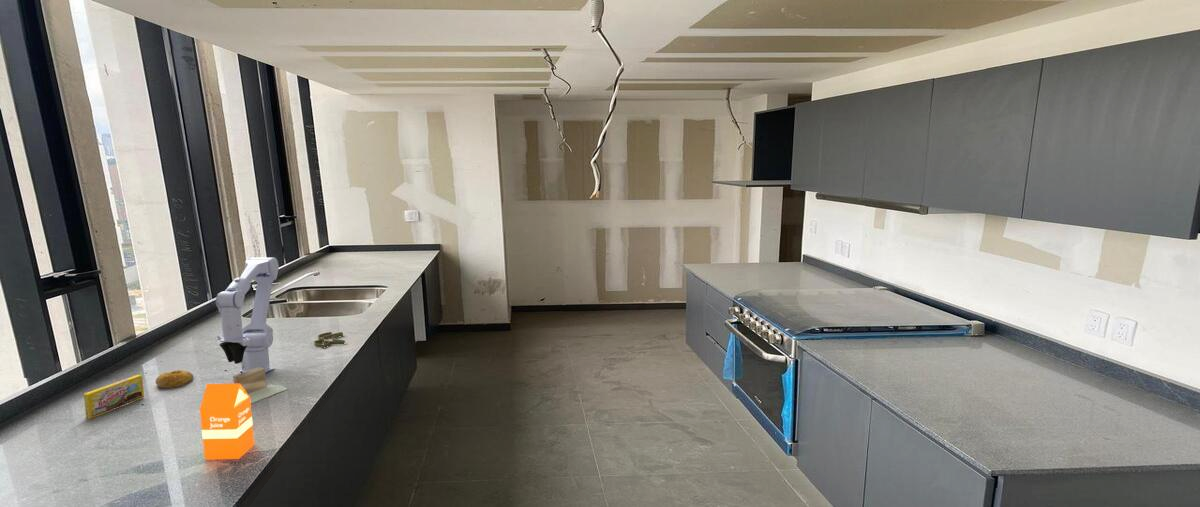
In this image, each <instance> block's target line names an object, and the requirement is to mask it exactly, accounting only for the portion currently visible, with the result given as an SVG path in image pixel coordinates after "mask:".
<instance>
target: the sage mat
mask: <svg viewBox="0 0 1200 507" xmlns="http://www.w3.org/2000/svg"><path fill="white" fill-rule="evenodd" d="M287 390H288V388H286V387H283V386H279V385H277V384H276V385H275V384H270V385H266V387H264V388H262V389H259V390H256V391H254V392H251V393H248V395H249V397H250V402H251V405H252V404H254V403H257V402H259V401H263V400H265V399H267V398H269V397H272V396H275V395H277V394H279V393H282V392H285V391H287ZM274 394H275V395H274Z"/></svg>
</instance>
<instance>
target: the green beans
mask: <svg viewBox="0 0 1200 507" xmlns="http://www.w3.org/2000/svg"><path fill="white" fill-rule="evenodd" d="M339 336H342V337H344V332H343V331H341V332H340V331H339V332H337V333H333V332H332V331H328V332H324V333H320V334H318V335H317V338H318V339H317V340H314V341H313V345H314V347H315V346H316V347H315V348H318V347H322V348H323V349H325V348H328V347H329V346H330V344H344V343H345V344H346V340H345V339H338V338H337V337H339ZM321 337H322V338H321ZM331 337H332V338H331ZM328 338H330V339H331V340H329V339H328ZM334 338H336V339H334ZM339 338H340V337H339ZM324 339H326V340H324ZM322 342H324V343H322ZM318 343H319V344H318ZM345 344H344V345H345ZM327 346H328V347H327ZM324 347H325V348H324ZM322 348H321V349H322Z"/></svg>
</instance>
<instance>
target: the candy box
mask: <svg viewBox="0 0 1200 507" xmlns="http://www.w3.org/2000/svg"><path fill="white" fill-rule="evenodd" d="M143 385H144V384H143V375H142V374H135V375H133V376H131V377H127V378H124V379H121V380H119V381H115V382H113V383H110V384H107V385H103V386H102V387H100V388H96V389H94V390H91V391H88V392H84V393H83V400H84V412H85V419H86V418H92V419H93V417H94V418H96V416H97V417H99V416H102V415H104V414H106V413H105V412H107V411H109V412H111V411H110V410H112V409H114V408H117V407H119V408H121V407H120V406H122V405H124V406H126V405H125V404H127V403H129V404H131V403H130V402H132V401H134V402H136V401H135V400H137V401H138V399H139V400H141V399H140V398H142V399H144V398H145V395H144V392H145V391H144V386H143ZM143 397H144V398H143ZM132 403H133V402H132ZM127 405H128V404H127ZM122 407H123V406H122ZM117 409H118V408H117ZM114 410H115V409H114ZM112 411H113V410H112ZM103 413H104V414H103ZM107 413H108V412H107ZM101 414H102V415H101ZM98 415H99V416H98Z"/></svg>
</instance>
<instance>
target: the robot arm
mask: <svg viewBox="0 0 1200 507" xmlns="http://www.w3.org/2000/svg"><path fill="white" fill-rule="evenodd" d="M279 267H280V266H279V261H278V259H277V258H276V257H273V256H272V257H252V256H249V257H247V258H246V260H245V262H244V270H243V271H242V273H241V275H240V277H236V278H234V279H232V280H233V281H231V283H230V284H229V285H228V286H227V287H226V289H225V290H224V291H221V292H219V293H217V295H216V298H215V306H216V307H217V309H218V313H219V314H220V316H221V317H220V319H221V327H222V328H221V329H222V333H219V334H217V336H216V337H217V340H218V341H219V342H220V343H219V344H218V345H219V347H220V348H221V349H222V350H223V352H224V353H225V356H226V359H227V360H228V361H227V362H228V363H232V362H234V364H241V369H239V372H240V373H243V372H246V371H249V370H252V369H255V368H258V367H260V368H264V369H265V373H267V372H271V371H274V370H275V369H276V367H274V366H270V354H269V348H270V347H271V346H272V345H273V341H274V329H273V328H272V327H271V326H270V325H269V324H267V318H268V312H269V307H270V300H271V293H272V289H273V283H274V281H276V280H277V278H278V272H279ZM252 281H255V282H256V283H257V284H256V288H255V289H256V290H255V296H254V301H253V302H254V303H253V307H252V312H251V317H250V318H251V319H250V322H249V323H248V324H246V325H245V326H243V320H242V311H241V310H242V309H241V307H242V306H243V304H244V300H245V295H246V294H247V293H248V292H249V290H250V288H251V286H252V285H251V282H252Z"/></svg>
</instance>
